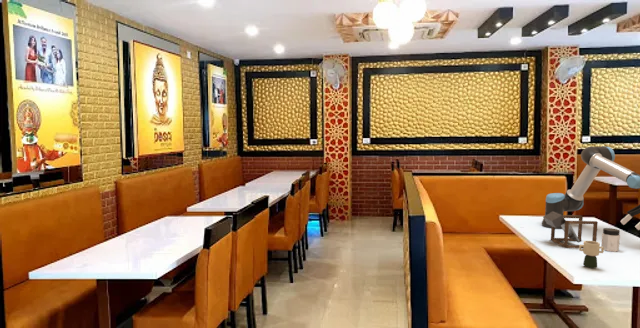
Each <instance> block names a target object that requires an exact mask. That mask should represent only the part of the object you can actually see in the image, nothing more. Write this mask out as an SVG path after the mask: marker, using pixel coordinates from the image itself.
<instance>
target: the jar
mask: <svg viewBox="0 0 640 328" xmlns="http://www.w3.org/2000/svg"><path fill="white" fill-rule="evenodd" d="M620 232H621V231H620V229H616V228H611V227H609V228H608V227H604V228H603V229H602V235H601V244H600V247H604V251H606V252H614V253H616V252H618V251H619V250H620V238H621V235H620Z"/></svg>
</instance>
